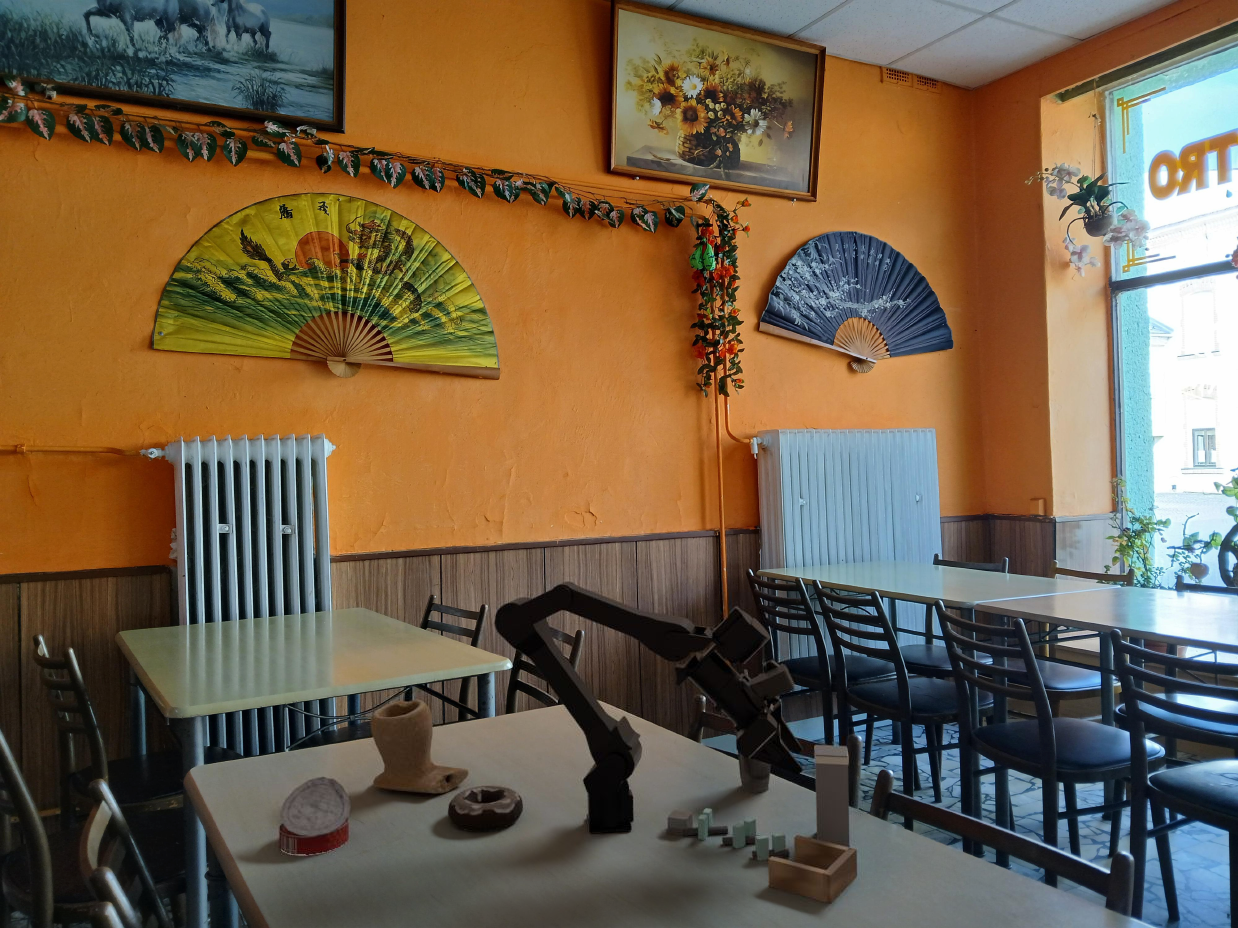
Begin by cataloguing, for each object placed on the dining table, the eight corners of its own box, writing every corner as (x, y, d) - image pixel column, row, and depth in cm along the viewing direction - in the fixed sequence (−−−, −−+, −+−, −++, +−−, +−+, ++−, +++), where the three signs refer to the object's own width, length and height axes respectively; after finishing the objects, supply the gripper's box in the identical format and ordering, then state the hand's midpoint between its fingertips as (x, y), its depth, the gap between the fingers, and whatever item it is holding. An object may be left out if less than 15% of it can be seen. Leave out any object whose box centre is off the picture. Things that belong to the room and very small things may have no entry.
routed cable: (694, 863, 123) (694, 856, 123) (682, 833, 133) (682, 826, 133) (789, 857, 124) (789, 850, 124) (770, 828, 134) (770, 821, 134)
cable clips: (770, 864, 122) (770, 842, 122) (689, 835, 132) (689, 815, 132) (793, 851, 126) (792, 830, 126) (712, 824, 136) (712, 804, 136)
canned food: (348, 863, 136) (377, 806, 135) (305, 885, 126) (335, 824, 126) (296, 820, 140) (324, 764, 139) (250, 838, 130) (280, 779, 130)
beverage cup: (776, 796, 147) (773, 675, 147) (731, 794, 148) (729, 674, 149) (777, 780, 154) (775, 665, 154) (735, 778, 156) (732, 664, 156)
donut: (536, 812, 143) (536, 787, 143) (496, 840, 132) (496, 813, 132) (476, 801, 148) (475, 777, 148) (432, 828, 137) (432, 802, 137)
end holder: (769, 885, 116) (768, 858, 116) (797, 859, 123) (797, 834, 123) (831, 903, 111) (830, 875, 111) (857, 875, 118) (856, 849, 118)
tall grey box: (816, 844, 128) (814, 754, 128) (816, 831, 133) (814, 744, 133) (850, 847, 127) (848, 756, 127) (848, 833, 132) (846, 745, 132)
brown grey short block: (667, 832, 133) (667, 816, 133) (673, 825, 136) (673, 809, 136) (687, 835, 132) (686, 819, 132) (692, 827, 135) (692, 811, 135)
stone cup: (356, 795, 151) (354, 707, 151) (400, 772, 162) (398, 690, 162) (430, 807, 145) (428, 715, 145) (470, 783, 156) (469, 697, 156)
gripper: (757, 661, 123) (842, 743, 121) (763, 635, 141) (836, 706, 139) (702, 716, 124) (785, 799, 122) (714, 684, 143) (786, 755, 140)
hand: (800, 761), depth 131 cm, fingers open, 9 cm apart
